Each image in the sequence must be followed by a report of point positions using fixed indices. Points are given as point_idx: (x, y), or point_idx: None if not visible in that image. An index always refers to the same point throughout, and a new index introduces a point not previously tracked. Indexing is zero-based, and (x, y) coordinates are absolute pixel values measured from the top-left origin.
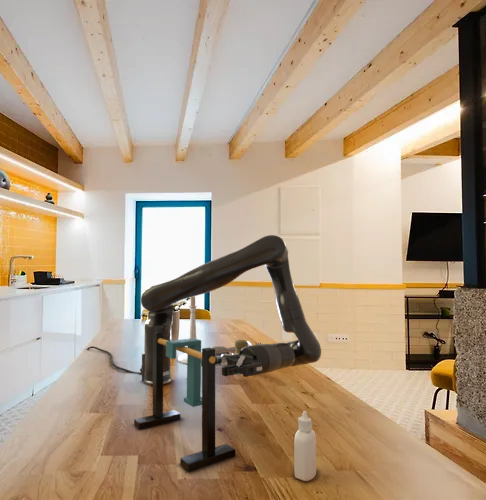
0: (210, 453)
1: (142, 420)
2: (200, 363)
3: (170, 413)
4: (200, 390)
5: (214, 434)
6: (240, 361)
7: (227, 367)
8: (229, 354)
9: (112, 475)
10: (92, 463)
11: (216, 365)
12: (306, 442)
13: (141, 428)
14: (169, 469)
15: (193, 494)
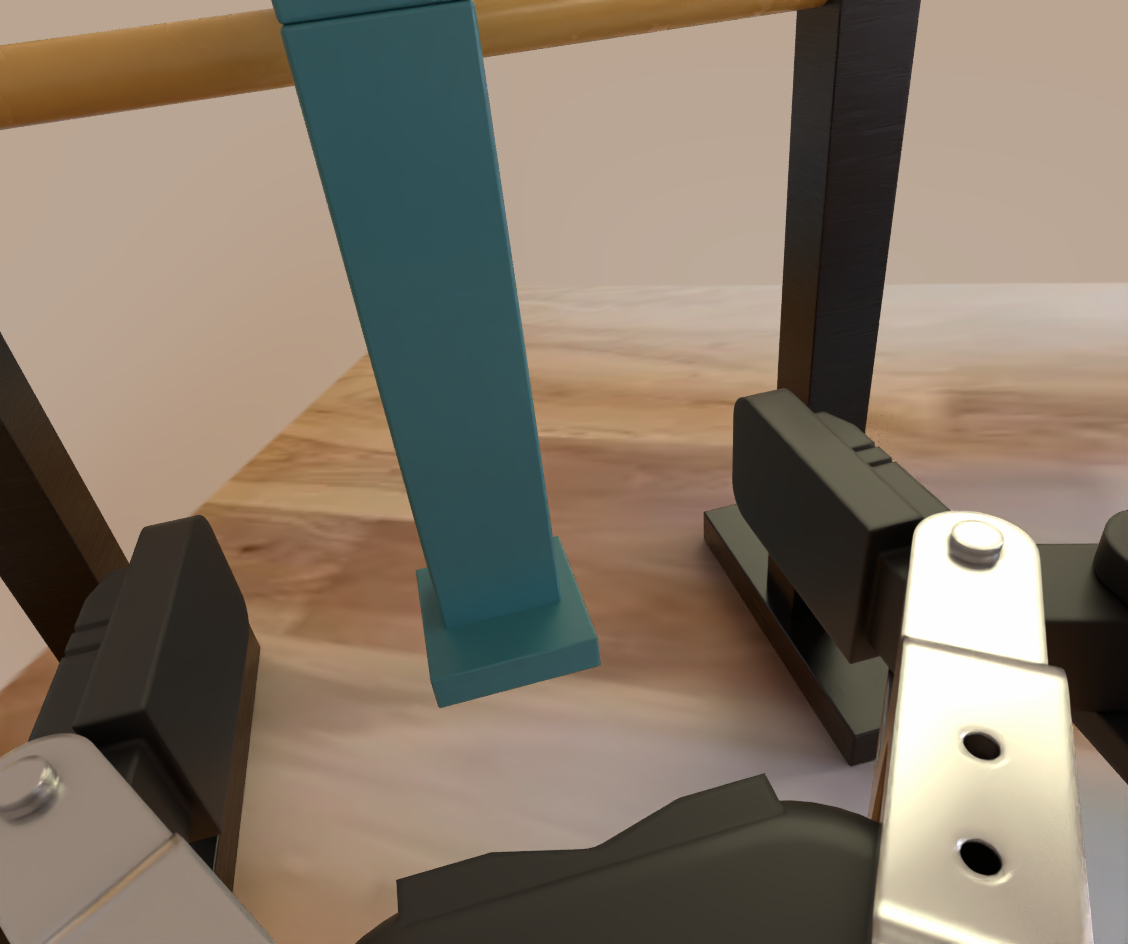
0: None
1: (743, 524)
2: (354, 299)
3: (857, 671)
4: (427, 560)
5: None
6: (91, 904)
7: (135, 574)
8: (1012, 854)
9: (348, 461)
10: None
11: (884, 701)
12: None
13: (708, 543)
14: (263, 606)
15: (42, 652)
